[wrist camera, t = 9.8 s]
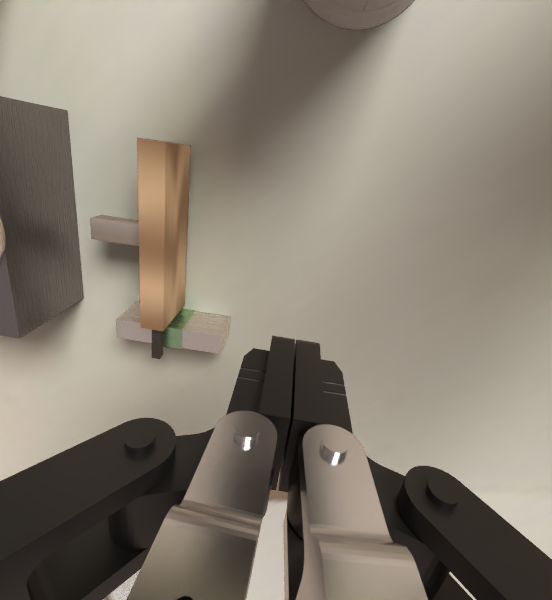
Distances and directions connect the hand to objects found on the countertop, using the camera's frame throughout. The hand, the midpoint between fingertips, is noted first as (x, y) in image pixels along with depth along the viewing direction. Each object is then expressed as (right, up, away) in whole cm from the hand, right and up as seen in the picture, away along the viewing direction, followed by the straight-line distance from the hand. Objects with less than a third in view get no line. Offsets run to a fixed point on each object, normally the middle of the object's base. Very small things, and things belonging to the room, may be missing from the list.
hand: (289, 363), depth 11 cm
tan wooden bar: (-10, +6, +15) cm, 19 cm away
